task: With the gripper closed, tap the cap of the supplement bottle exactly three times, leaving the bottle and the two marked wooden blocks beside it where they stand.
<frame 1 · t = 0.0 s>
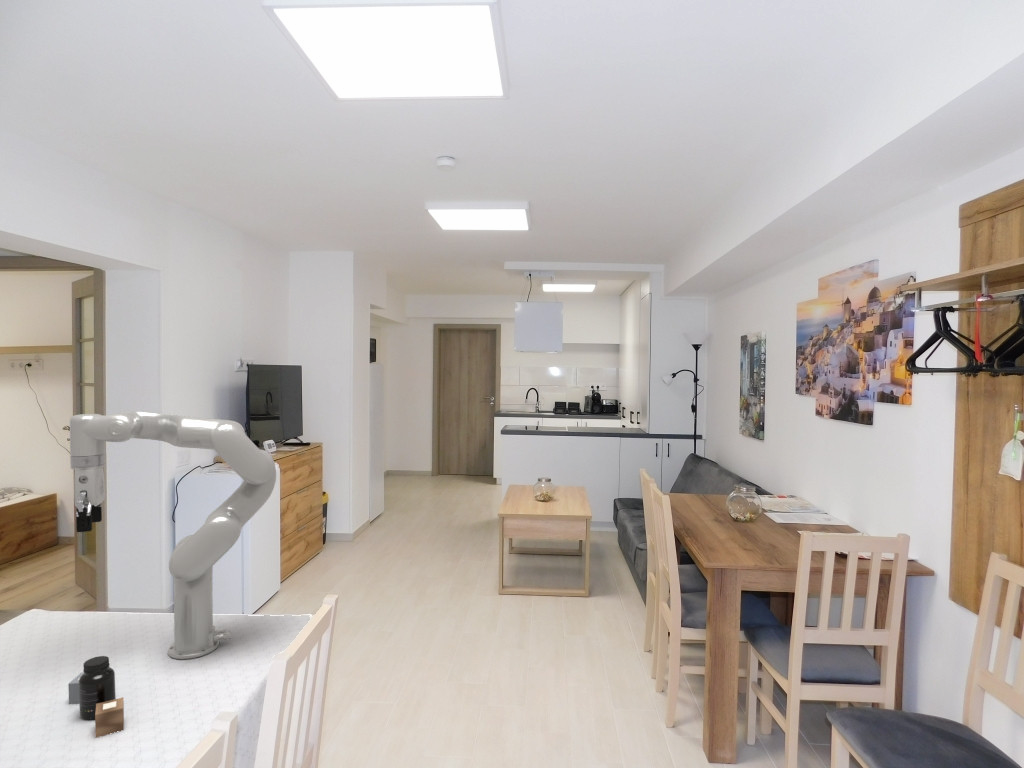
hand: (89, 526, 158), 37 cm above the table, tool pointing down, fingers open, 9 cm apart
supplement bottle: (97, 713, 138), on the table
slate grey block: (86, 698, 144), on the table
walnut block: (110, 728, 132), on the table
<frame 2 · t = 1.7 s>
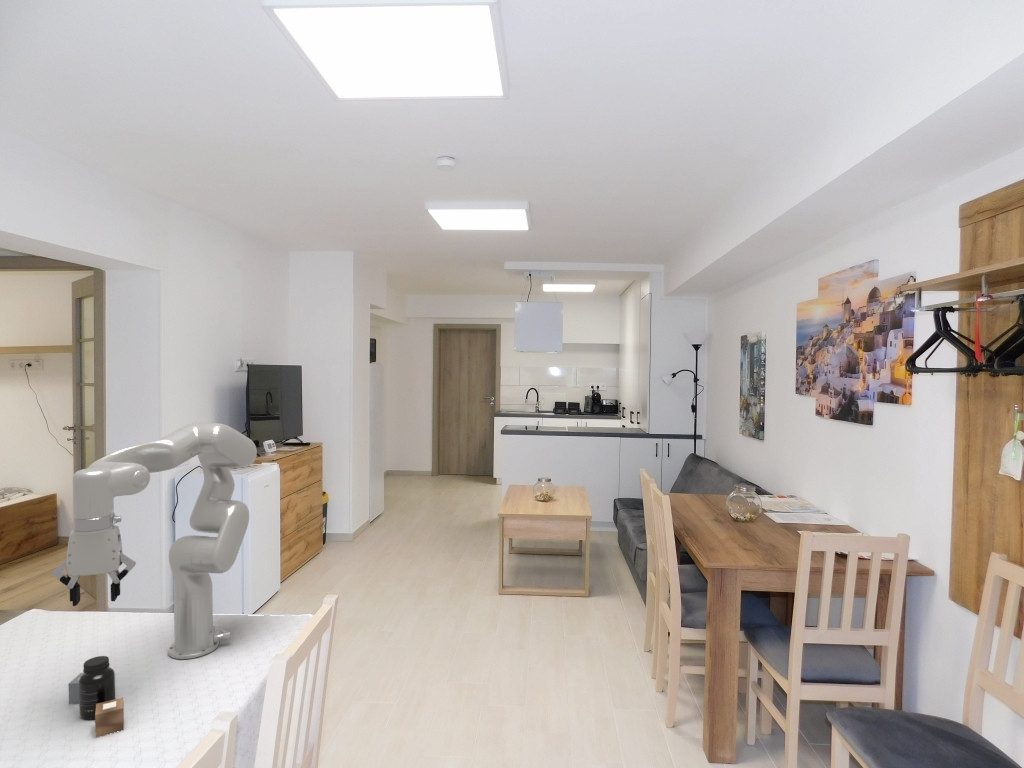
hand: (95, 600, 137), 26 cm above the table, tool pointing down, fingers open, 6 cm apart
nothing on the table moved.
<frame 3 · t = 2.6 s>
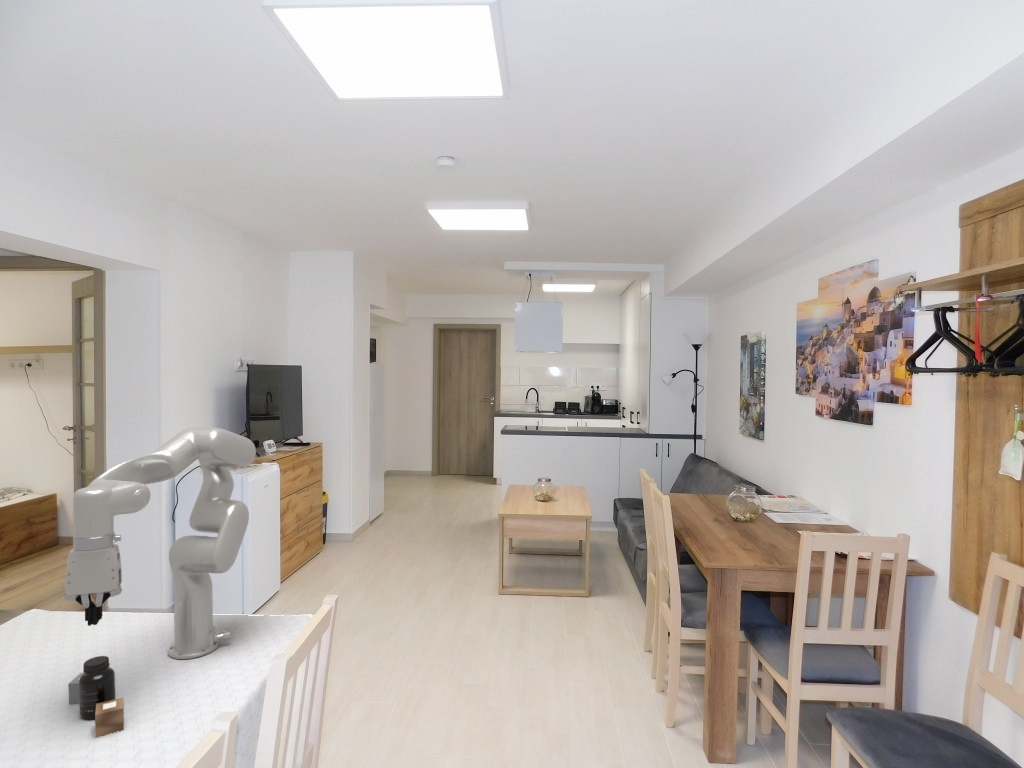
hand: (93, 622, 137), 21 cm above the table, tool pointing down, fingers closed
nothing on the table moved.
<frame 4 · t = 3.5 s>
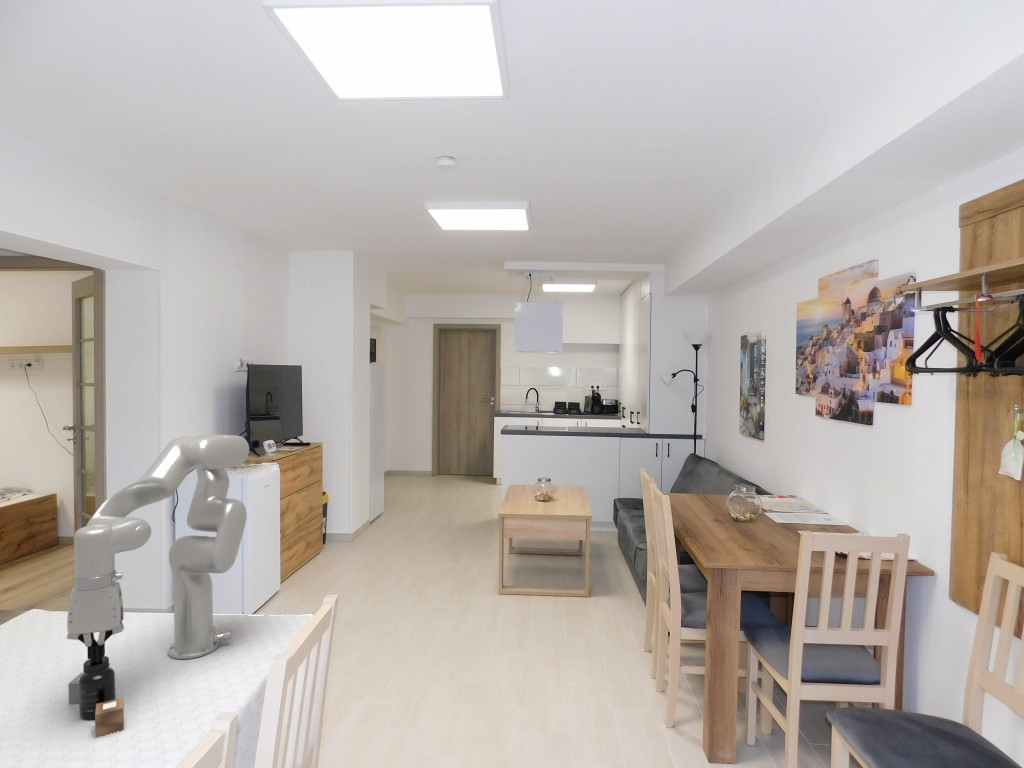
hand: (96, 660, 137), 12 cm above the table, tool pointing down, fingers closed
supplement bottle: (97, 713, 138), on the table, touching gripper
everything else where it was.
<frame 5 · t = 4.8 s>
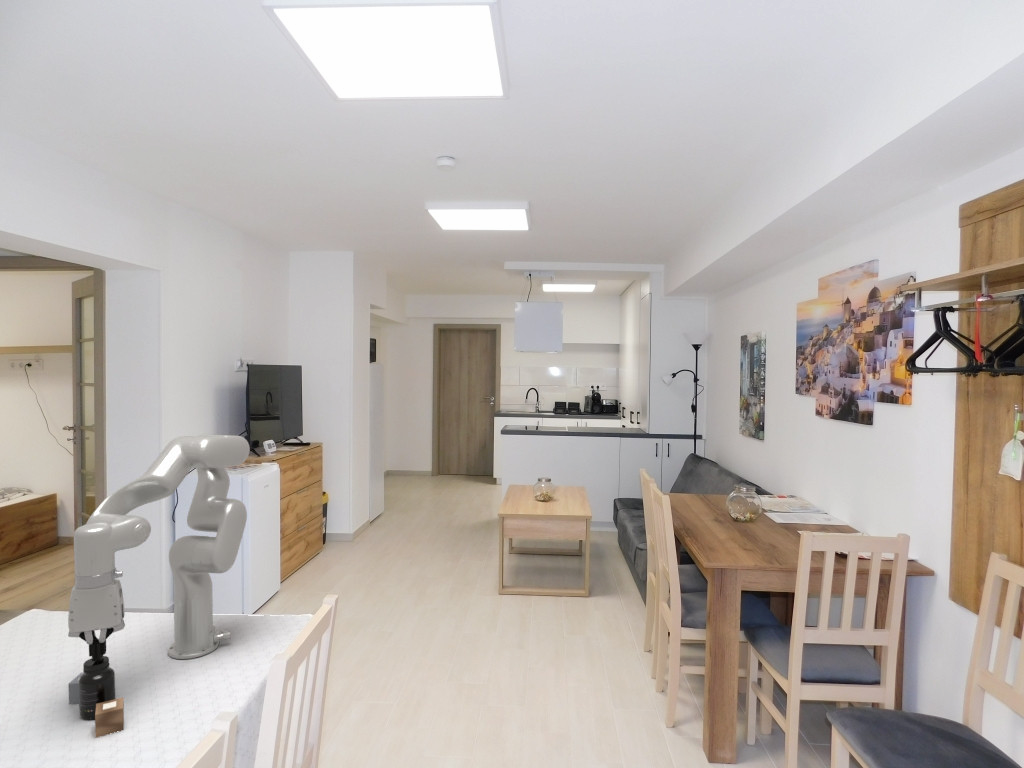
hand: (97, 657, 138), 12 cm above the table, tool pointing down, fingers closed
supplement bottle: (97, 713, 138), on the table
everything else where it was.
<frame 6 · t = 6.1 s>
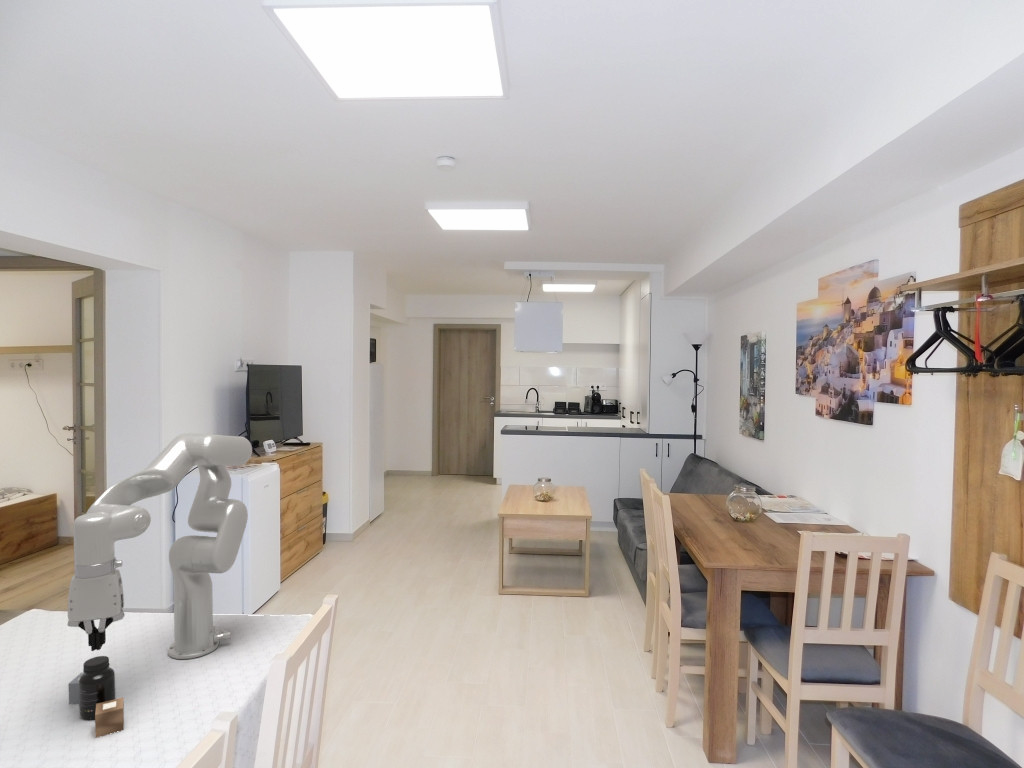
hand: (97, 647, 138), 15 cm above the table, tool pointing down, fingers closed
nothing on the table moved.
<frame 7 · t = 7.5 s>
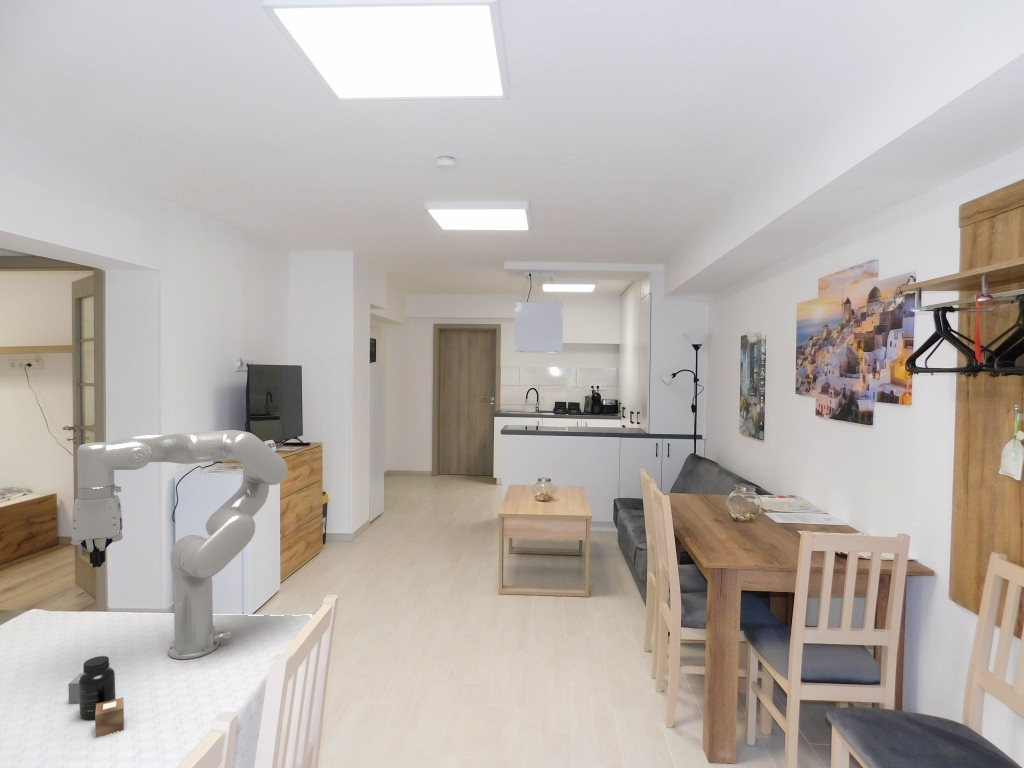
hand: (97, 565, 150), 29 cm above the table, tool pointing down, fingers closed
nothing on the table moved.
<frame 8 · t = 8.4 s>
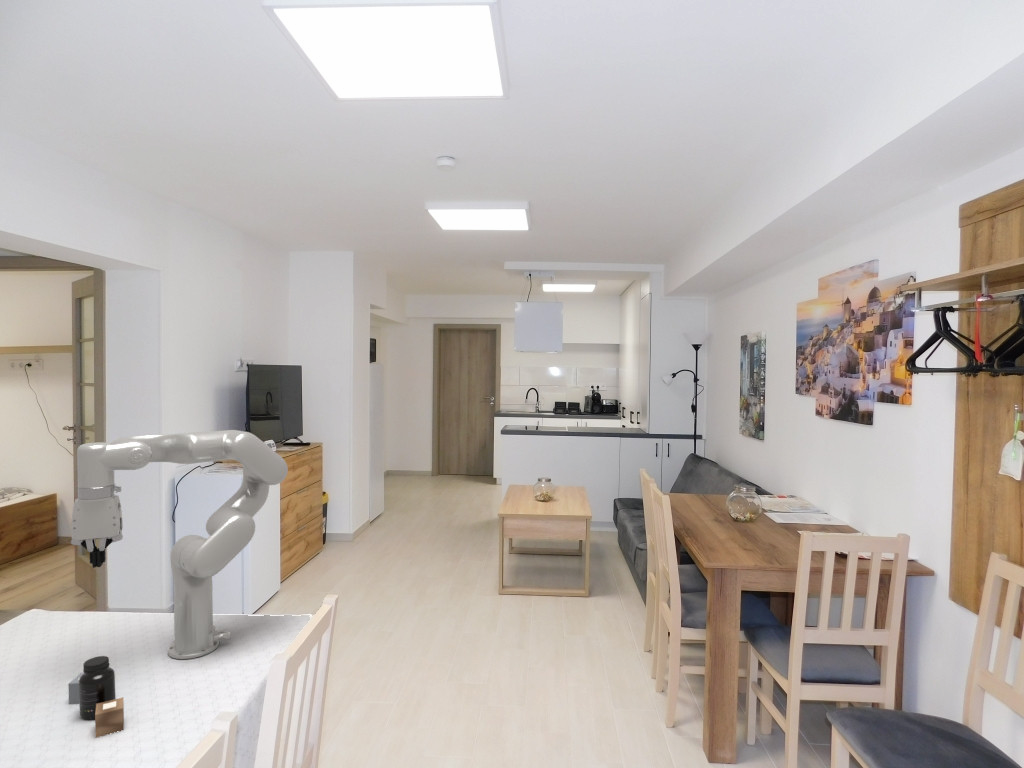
hand: (97, 565, 150), 29 cm above the table, tool pointing down, fingers closed
nothing on the table moved.
at the end: supplement bottle moved 0.2 cm from its start; supplement bottle tilted 0°; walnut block moved 0.1 cm from its start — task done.
